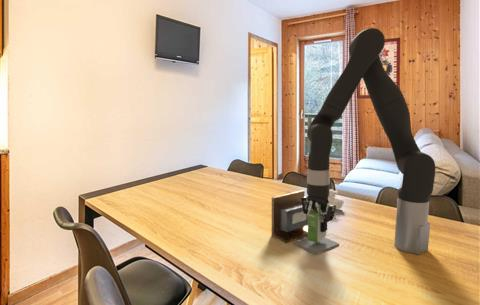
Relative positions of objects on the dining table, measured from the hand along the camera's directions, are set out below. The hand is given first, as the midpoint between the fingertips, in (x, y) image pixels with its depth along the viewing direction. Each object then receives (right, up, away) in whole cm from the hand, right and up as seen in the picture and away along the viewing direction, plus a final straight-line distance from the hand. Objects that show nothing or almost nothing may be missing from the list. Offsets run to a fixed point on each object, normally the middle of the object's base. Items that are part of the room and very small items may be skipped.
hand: (317, 228), depth 105 cm
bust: (+16, 0, +36) cm, 40 cm away
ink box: (0, -4, +1) cm, 4 cm away
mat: (0, -6, +1) cm, 6 cm away
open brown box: (-6, -4, +10) cm, 13 cm away
